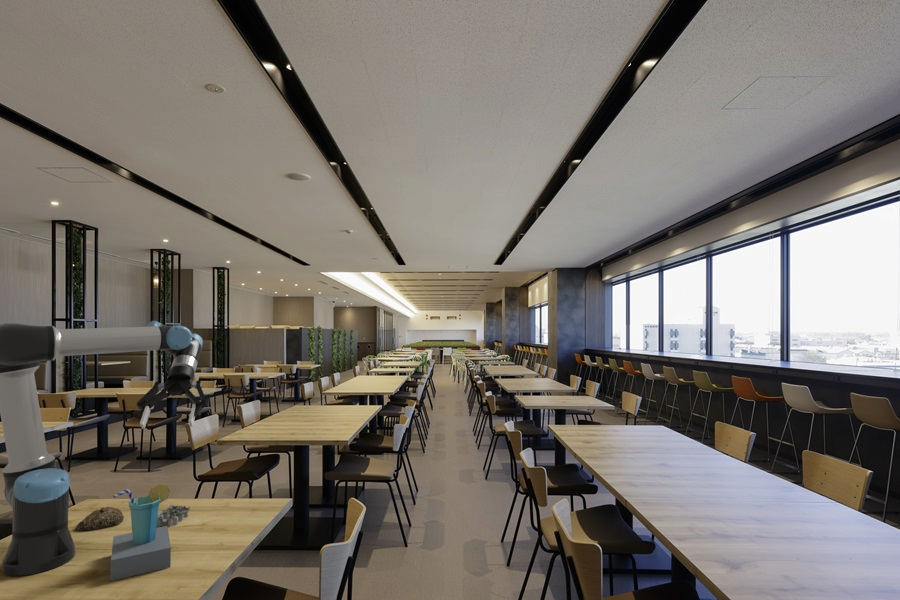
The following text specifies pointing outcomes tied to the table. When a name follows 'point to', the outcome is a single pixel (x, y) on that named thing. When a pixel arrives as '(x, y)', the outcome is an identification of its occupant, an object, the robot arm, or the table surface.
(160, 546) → the slate block
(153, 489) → the cup
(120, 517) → the bread roll
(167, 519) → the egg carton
